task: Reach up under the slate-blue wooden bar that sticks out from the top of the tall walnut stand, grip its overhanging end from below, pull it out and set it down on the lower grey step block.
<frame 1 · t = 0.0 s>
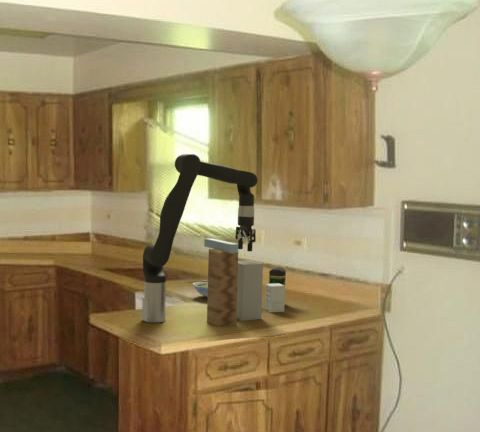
hand: (245, 250, 340), 29 cm above the worktop, tool pointing down, fingers open, 8 cm apart
grey step: (244, 317, 332), on the worktop
supplement box: (274, 311, 348), on the worktop
ramen bowl: (214, 298, 377), on the worktop
coffee jar: (276, 305, 363), on the worktop
blue bar: (220, 249, 317), point 32 cm above the worktop, touching walnut stand
walnut stand: (221, 323, 318), on the worktop
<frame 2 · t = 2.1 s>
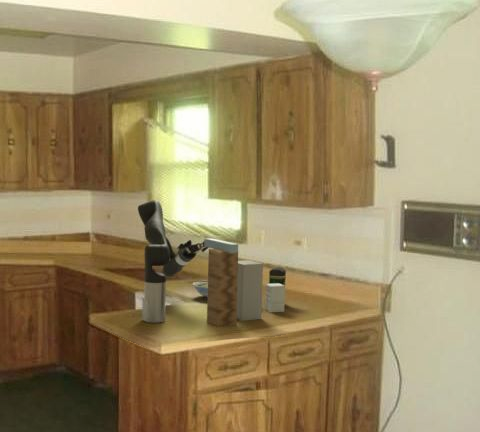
hand: (199, 241, 338), 33 cm above the worktop, tool pointing upward, fingers open, 8 cm apart
nothing on the worktop moved.
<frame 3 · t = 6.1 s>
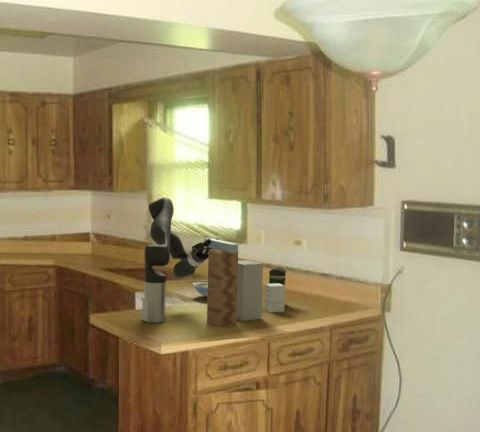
hand: (214, 240, 322), 35 cm above the worktop, tool pointing upward, fingers closed on blue bar, 3 cm apart
blue bar: (220, 249, 317), point 32 cm above the worktop, touching gripper, walnut stand
everything else where it was.
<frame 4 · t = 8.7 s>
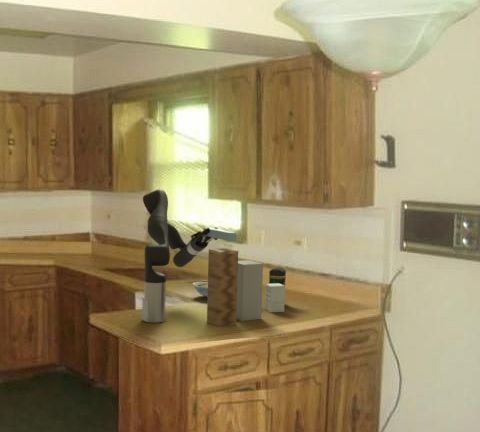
hand: (213, 229, 332), 39 cm above the worktop, tool pointing upward, fingers closed on blue bar, 3 cm apart
blue bar: (219, 237, 327), point 36 cm above the worktop, touching gripper
everything else where it was.
when the fingers open (30 cm above the worktop, at t = 11.7 s): blue bar drops 2 cm, resting on grey step.
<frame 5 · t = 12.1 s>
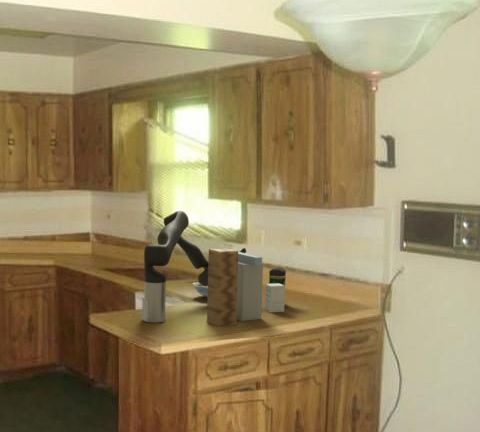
hand: (237, 250, 337), 30 cm above the worktop, tool pointing upward, fingers open, 7 cm apart
blue bar: (244, 261, 331), point 25 cm above the worktop, touching grey step
everything else where it was.
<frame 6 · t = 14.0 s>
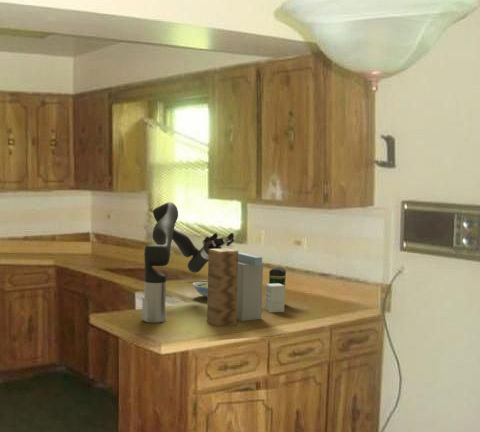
hand: (224, 234, 343), 36 cm above the worktop, tool pointing upward, fingers open, 8 cm apart
nothing on the worktop moved.
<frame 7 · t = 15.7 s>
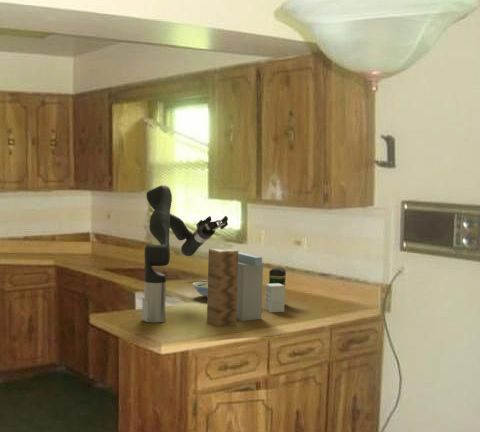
hand: (218, 217, 338), 44 cm above the worktop, tool pointing upward, fingers open, 8 cm apart
nothing on the worktop moved.
at the end: blue bar inside the target area on the grey step (0.7 cm from its centre), point 25.0 cm above the grey step's base; blue bar touching grey step; the gripper is holding nothing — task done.
